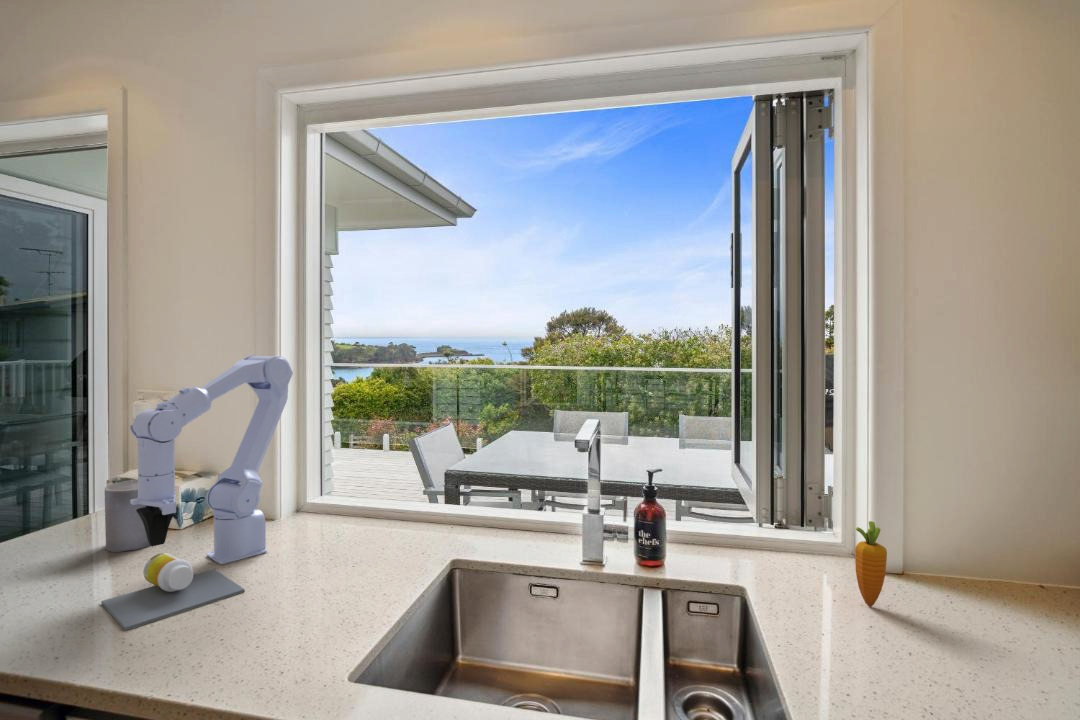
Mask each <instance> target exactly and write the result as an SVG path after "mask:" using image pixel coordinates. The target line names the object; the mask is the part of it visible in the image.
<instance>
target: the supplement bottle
mask: <svg viewBox="0 0 1080 720" xmlns="http://www.w3.org/2000/svg"><path fill="white" fill-rule="evenodd" d="M142 573H143V577H144V579H145V580H146V581H147V582H148V583H150V584H151V585H153V586H157V587H159V588H161V589H162V590H164V591H168V592H174V591H178V590H181V589H184V588H185V587H187V586H188V585H189V584H190V583H191V581H192V579H193V575H194V569H193V565H192V564H191V563H190V562H189V561H187V560H186V559H183V558H181V557H179V556H177V555H174V554H172V553H170V552H161V553H157V554H155V555H154V556H153V555H152V557H150V558H149V559H148V560H147V562H146V563H145V564H144V567H143V571H142Z"/></svg>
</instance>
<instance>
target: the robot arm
mask: <svg viewBox="0 0 1080 720" xmlns="http://www.w3.org/2000/svg"><path fill="white" fill-rule="evenodd" d="M293 373H294V372H293V369H292V367H291V366H290V363H289V361H288V360H287V359H286V358H285V357H284V356H281V355H274V356H269V355H268V356H266V355H264V356H263V355H262V356H261V355H254V354H252V355H248V356H246V357H244V358H243V359H240V360H238V361H236V362H235V363H234V365H232V366H231V367H230V368H228V369H226V370H225V371H224V372H222V373H221V374H219V375H217V376H216V377H214V379H212V380H211V381H209V382H208V383H206V384H204V385H203V386H202V387H200V388H199V387H196V386H191V387H182V388H181V389H179V390H178V392H179V393H178V394H176V395H175V396H173V397H171V398H169V399H168V400H166V401H160V402H158V403H157V404H156V407H155V409H146V410H143V411H141V412H139V413H138V414H137V415H136V417H135V418H134V419H133V421H132V422H133V423H132V425H130V426H129V429H130V432H131V434H132V435H133V436H134V438H135V439H136V441H137V480H138V497H137V498H136V499H131V500H130V504H132V505H137V504H140V505H147V506H146V507H143V508H139V509H137V510H136V512H137V513H138V515H139V516H140V518H141V520H142V522H143V524H144V527H145V531H146V535H147V539H148V542H149V544H150V545H151V546H150V547H156V546H160V545H164V544H165V543H166V539H167V535H168V532H169V528H170V525H171V522H172V520H173V517H174V516H175V514H176V513H177V511H178V507H177V502H176V499H177V493H176V487H175V486H176V482H175V479H176V478H175V477H176V475H175V473H176V471H175V467H176V464H175V463H176V461H175V459H176V457H175V455H176V454H175V453H176V451H175V449H176V447H175V446H176V445H175V444H176V443H175V439H177V437H178V436H179V435H180V434H181V432H182V430H183V427H185V426H186V425H188V424H189V423H191V422H192V421H194V420H195V419H198V418H199V417H200V416H202V415H204V414H205V413H207V412H208V411H209V410H210V409H211V407H212V403H213V401H214V400H217V399H218V398H220V397H221V396H222V397H223V395H225V394H227V393H229V392H231V391H232V390H235V389H236V388H238V387H239V386H241V385H243V384H247V385H248V386H249V387H250V389H252V391H254V393H255V395H256V396H257V398H258V402H257V405H256V407H255V409H254V411H253V414H252V416H251V418H250V421H249V423H248V426H247V428H246V430H245V432H244V435H243V437H242V439H241V442H240V444H239V447H238V449H237V451H236V453H235V456H234V459H233V461H232V463H231V465H230V466H229V467H228V468H226V469H224V470H223V471H222V472H221V473H220V474H219V475H218V478H217V480H215V482H214V483H213V484H212V485H211V486H210V487H209V488H208V490H207V492H206V497H205V500H206V501H205V502H206V505H207V506H208V507H209V508H210V509H211V510H212V515H213V551H210V552H207V553H206V557H208V558H210V559H211V560H213V561H214V562H216V563H218V564H219V565H225V564H228V563H233V562H236V561H239V560H240V561H241V560H242V559H243V560H244V559H246V558H250V557H253V556H257V555H260V554H264V553H265V554H266V553H267V552H268V549H267V548H266V547H267V546H266V544H267V543H266V540H267V539H266V517H265V515H264V512H263V511H262V510H260V509H257V508H258V506H259V504H260V500H261V494H260V493H261V489H262V486H263V481H262V479H261V478H260V476H259V474H258V472H259V470H260V468H261V466H262V463H263V460H264V458H265V455H266V454H267V453H266V452H267V451H268V448H269V446H270V443H271V440H272V438H273V436H274V434H275V431H276V429H277V426H278V424H279V421H280V419H281V417H282V414H283V411H284V409H285V407H286V405H287V402H288V398H289V383H290V382H291V380H292V377H293Z"/></svg>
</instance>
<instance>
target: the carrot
mask: <svg viewBox="0 0 1080 720" xmlns="http://www.w3.org/2000/svg"><path fill="white" fill-rule="evenodd" d="M868 527H869V528H868V529H867V531H866V532H865V531H864V529H862V528H861V527H858V526H857V527H855V530H856V531H857V532H858V533H860V534H861V536H863V538H864V541H863V540H861V541H859V542H858V543H857V544H856V545H855V549H854V550H855V553H854V557H855V558H854V559H855V560H854V562H855V563H854V564H855V574H856V580H857V586H858V589H859V592H860V594H861V597H862V599H863V601H864V603H865V604H866V605H867V606H868V607H869V606H870V607H869V608H871V607H873V606H874V604H876V602H877V600H878V598H879V597H880V594H881V592H882V589H883V586H884V582H885V578H886V573H887V569H886V568H887V560H888V559H887V558H888V557H887V555H888V551H887V548H886V547H885V546H883V545H882V544H880V543H878V542H876V541H877V539H878V538H879V535H880V532H881V528H880V527H878V526H876V524H875V522H874V521H870V520H869V521H868Z"/></svg>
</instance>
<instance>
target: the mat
mask: <svg viewBox="0 0 1080 720" xmlns="http://www.w3.org/2000/svg"><path fill="white" fill-rule="evenodd" d="M242 593H245V588H244V587H243V586H241V585H239V584H237V583H236V582H235V581H233V580H232V579H230V578H229V577H227V576H225V575H224V574H222V573H221V572H219V571H218V570H216V569H214V568H213V569H209V570H206V571H203V572H199V573H195V574H193V579H192V581H191V583H190V584H189V585H188V586H187V587H185V588H184V589H181V590H178V591H174V592H168V591H164V590H162V589H161V588H159V587H157V586H155V585H153V586H150V587H146V588H142V589H138V590H134V591H132V592H128V593H125V594H122V595H117V596H114V597H111V598H107V599H104V600H101V603H102V604H101V605H102V606H103V607H104V609H105V610H107V612H108V613H109V614H110V615H111V616H112V618H113V619H115V621H116V622H117V623H118V624H119V625H120V627H121V628H122V629H123V630H124V631H128V630H131V629H135V628H138V627H140V626H144V625H147V624H150V623H154V622H157V621H159V620H162V619H164V618H168V617H172V616H175V615H177V614H181V613H184V612H187V611H190V610H194V609H197V608H199V607H202V606H205V605H208V604H211V603H214V602H217V601H220V600H224V599H226V598H229V597H233V596H235V595H240V594H242Z"/></svg>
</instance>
